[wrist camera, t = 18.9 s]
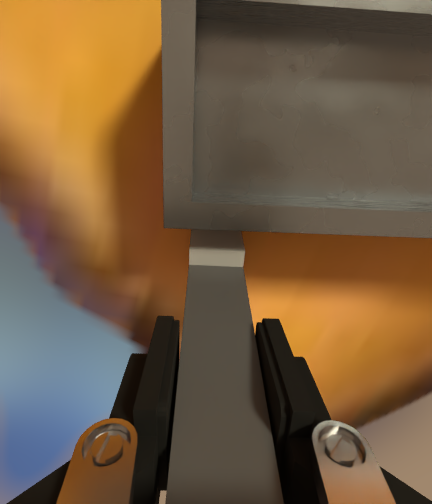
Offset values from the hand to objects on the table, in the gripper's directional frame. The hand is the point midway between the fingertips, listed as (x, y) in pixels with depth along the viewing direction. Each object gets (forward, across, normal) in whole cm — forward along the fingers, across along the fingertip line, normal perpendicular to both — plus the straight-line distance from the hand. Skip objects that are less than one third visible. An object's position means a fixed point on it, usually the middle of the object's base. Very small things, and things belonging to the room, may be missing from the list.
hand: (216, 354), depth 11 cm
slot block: (+8, -7, -8) cm, 13 cm away
